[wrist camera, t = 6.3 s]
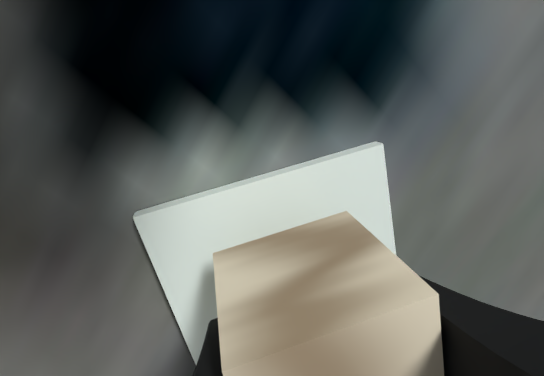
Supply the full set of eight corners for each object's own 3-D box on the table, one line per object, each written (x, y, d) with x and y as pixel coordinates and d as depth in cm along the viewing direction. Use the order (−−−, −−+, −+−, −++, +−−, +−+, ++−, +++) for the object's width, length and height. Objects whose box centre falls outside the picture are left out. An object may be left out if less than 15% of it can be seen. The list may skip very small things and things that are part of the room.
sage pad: (375, 141, 14) (383, 144, 13) (394, 294, 17) (401, 301, 16) (135, 211, 13) (132, 217, 12) (199, 363, 16) (199, 373, 15)
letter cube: (346, 210, 12) (438, 294, 7) (365, 319, 14) (448, 441, 9) (212, 253, 12) (221, 372, 7) (250, 361, 13) (277, 513, 9)
